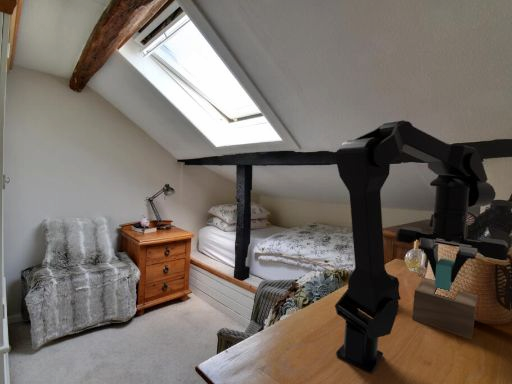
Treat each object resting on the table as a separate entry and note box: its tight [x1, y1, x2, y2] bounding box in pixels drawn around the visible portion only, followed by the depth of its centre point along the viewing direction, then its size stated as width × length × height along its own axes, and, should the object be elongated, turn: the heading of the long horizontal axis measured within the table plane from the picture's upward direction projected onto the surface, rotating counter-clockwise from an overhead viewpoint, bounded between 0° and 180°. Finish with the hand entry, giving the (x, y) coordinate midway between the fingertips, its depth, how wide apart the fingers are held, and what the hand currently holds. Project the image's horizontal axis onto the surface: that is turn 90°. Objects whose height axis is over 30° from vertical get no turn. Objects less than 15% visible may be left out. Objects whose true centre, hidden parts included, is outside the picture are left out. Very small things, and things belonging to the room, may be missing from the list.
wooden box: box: [411, 277, 478, 341], centre depth 64 cm, size 11×11×7 cm
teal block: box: [434, 257, 455, 291], centre depth 58 cm, size 6×2×5 cm, turn 138°
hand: (444, 280), depth 58 cm, fingers closed on teal block, 2 cm apart
